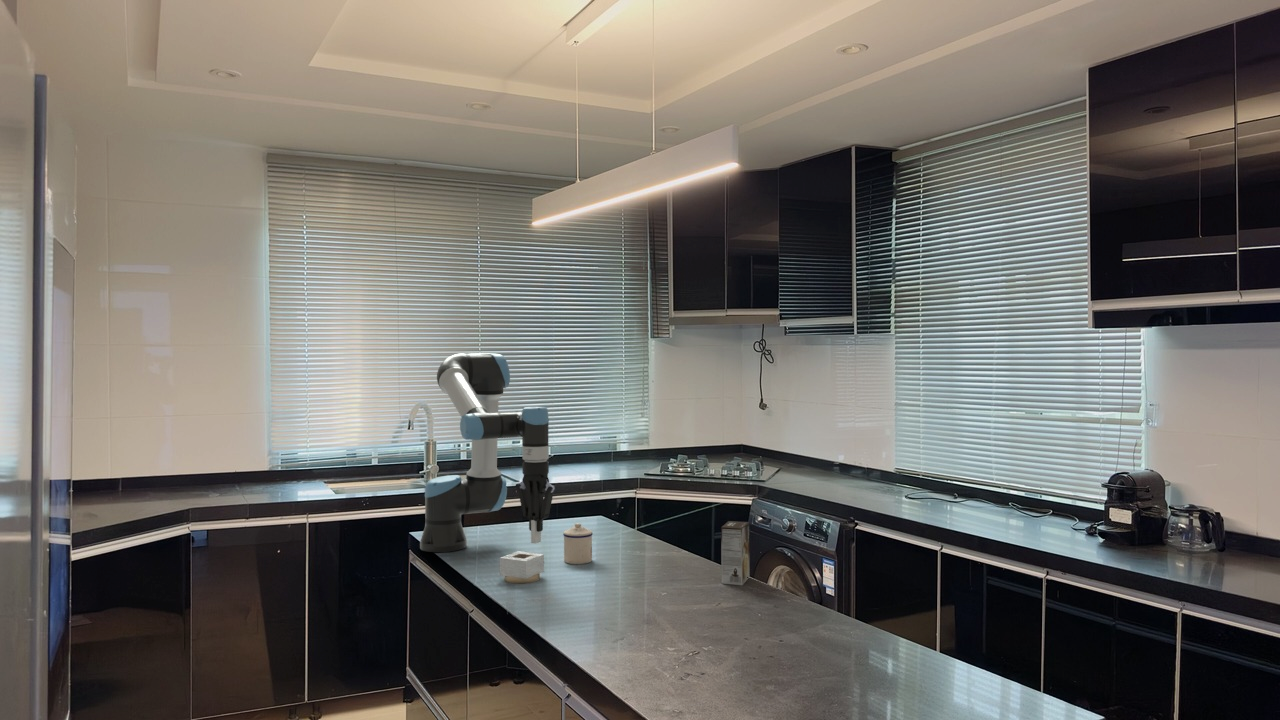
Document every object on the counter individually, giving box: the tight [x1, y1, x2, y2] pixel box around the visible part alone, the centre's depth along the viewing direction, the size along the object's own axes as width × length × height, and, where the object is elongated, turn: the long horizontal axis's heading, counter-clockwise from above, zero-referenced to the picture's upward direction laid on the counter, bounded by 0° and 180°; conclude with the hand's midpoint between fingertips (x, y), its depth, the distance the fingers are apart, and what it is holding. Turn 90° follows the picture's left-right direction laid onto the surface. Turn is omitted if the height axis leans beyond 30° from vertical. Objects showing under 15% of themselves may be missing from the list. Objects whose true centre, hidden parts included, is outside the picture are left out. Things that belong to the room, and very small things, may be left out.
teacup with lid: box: [562, 522, 593, 565], centre depth 265 cm, size 12×9×12 cm
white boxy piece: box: [499, 550, 545, 579], centre depth 244 cm, size 9×9×5 cm
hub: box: [504, 558, 541, 584], centre depth 244 cm, size 10×10×6 cm
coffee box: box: [720, 520, 751, 586], centre depth 241 cm, size 9×6×16 cm
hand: (536, 542), depth 245 cm, fingers closed
